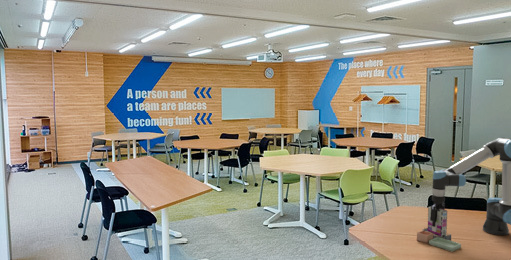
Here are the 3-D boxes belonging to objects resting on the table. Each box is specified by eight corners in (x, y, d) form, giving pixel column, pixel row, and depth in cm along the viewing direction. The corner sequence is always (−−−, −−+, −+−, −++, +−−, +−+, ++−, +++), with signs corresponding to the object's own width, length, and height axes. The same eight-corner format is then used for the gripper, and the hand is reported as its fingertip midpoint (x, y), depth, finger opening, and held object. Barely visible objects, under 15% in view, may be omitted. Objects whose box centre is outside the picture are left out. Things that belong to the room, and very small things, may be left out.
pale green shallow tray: (437, 240, 249) (437, 236, 249) (460, 247, 237) (460, 243, 237) (428, 244, 243) (429, 240, 242) (452, 251, 231) (452, 247, 231)
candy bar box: (446, 235, 249) (447, 210, 247) (441, 236, 247) (442, 211, 245) (432, 229, 259) (433, 205, 258) (427, 231, 257) (427, 206, 256)
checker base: (427, 233, 262) (427, 226, 261) (451, 240, 249) (451, 233, 249) (422, 235, 258) (422, 228, 257) (446, 242, 245) (446, 235, 245)
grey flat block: (430, 231, 260) (430, 229, 260) (447, 236, 250) (447, 234, 250) (425, 233, 256) (425, 231, 256) (443, 238, 247) (443, 236, 247)
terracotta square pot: (422, 237, 254) (422, 230, 253) (433, 241, 248) (433, 233, 248) (416, 240, 249) (417, 232, 249) (427, 243, 244) (427, 235, 243)
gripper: (440, 191, 259) (438, 225, 262) (425, 196, 248) (423, 231, 250) (451, 194, 253) (449, 228, 256) (436, 198, 242) (434, 235, 244)
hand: (436, 230), depth 253 cm, fingers closed on candy bar box, 6 cm apart
